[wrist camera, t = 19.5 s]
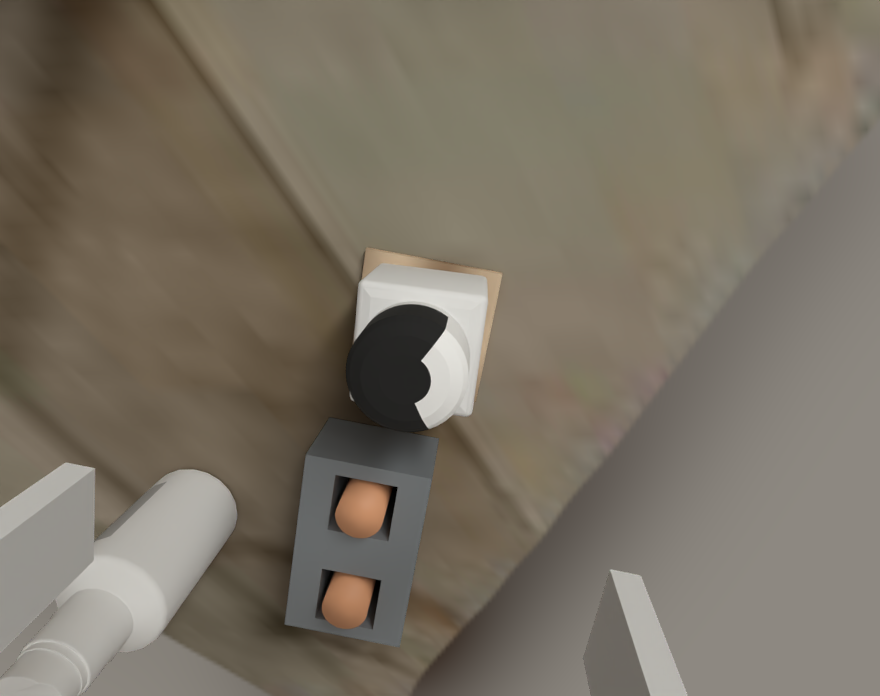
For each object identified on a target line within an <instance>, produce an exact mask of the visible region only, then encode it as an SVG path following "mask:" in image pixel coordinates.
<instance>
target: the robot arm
mask: <svg viewBox="0 0 880 696" xmlns="http://www.w3.org/2000/svg"><path fill="white" fill-rule="evenodd" d="M94 508H95V468H91V467H86V466H81V465H75V464H70V463H64V464H63V465H61V466H60V467H58V468H57V469H55V470H54V471H52V472H51V473H50V474H48V475H47V476H45V477H44V478H42V479H41V480H39V481H38V482H36V483H35V484H34V485H32V486H31V487H29V488H28V489H26V490H25V491H23V492H22V493H20V494H19V495H18V496H16V497H15V498H13V499H12V500H10V501H9V502H7V503H6V504H4V505H3V506H2V507H0V653H1V652H2V651H3V650H4V649H5V648H6V647H7V646H8V645H9V644H10V643H11V642H12V641H13V640H14V639H15V638H16V637H17V636H18V635H19V634H20V633H21V632H22V631H23V630H24V629H25V628H26V627H27V626H28V625H29V624H30V623H31V622H32V621H33V620H34V619H35V618H36V617H37V616H38V615H39V614H40V613H41V612H42V611H43V610H44V609H45V608H46V607H47V606H48V605H50V603H51V602H52V601H54V599H56V598H57V597H58V596H59V595H60V594H61V593H62V592H63V591H64V590H65V589H66V588H67V587H68V586H69V585H70V584H71V583H72V582H73V581H74V580H75V579H76V578H77V577H78V576H79V575H80V574H81V573H82V572H83V571H84V570H85V569H86V568H87V567H88V566H89V565H90V564H91V563H92V562H93V561H94ZM583 660H584V665H585V670H586V674H587V679H588V684H589V689H590V694H591V696H688V695H687V693H686V690H685V688H684V685H683V682H682V680H681V677H680V675H679V672H678V670H677V667H676V665H675V662H674V659H673V657H672V655H671V652H670V649H669V647H668V644H667V642H666V639H665V636H664V634H663V631H662V629H661V626H660V624H659V621H658V619H657V616H656V613H655V611H654V608H653V606H652V603H651V601H650V598H649V596H648V593H647V590H646V588H645V585H644V583H643V580H642V578H641V576H640V575H636V574H631V573H626V572H621V571H615V570H610V571H609V575H608V578H607V581H606V585H605V588H604V591H603V594H602V598H601V601H600V604H599V608H598V611H597V614H596V618H595V621H594V625H593V628H592V631H591V634H590V637H589V641H588V644H587V647H586V651H585V654H584V657H583Z"/></svg>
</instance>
